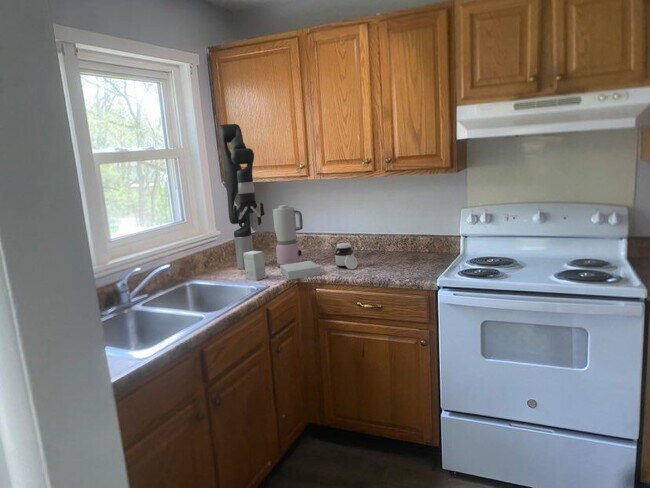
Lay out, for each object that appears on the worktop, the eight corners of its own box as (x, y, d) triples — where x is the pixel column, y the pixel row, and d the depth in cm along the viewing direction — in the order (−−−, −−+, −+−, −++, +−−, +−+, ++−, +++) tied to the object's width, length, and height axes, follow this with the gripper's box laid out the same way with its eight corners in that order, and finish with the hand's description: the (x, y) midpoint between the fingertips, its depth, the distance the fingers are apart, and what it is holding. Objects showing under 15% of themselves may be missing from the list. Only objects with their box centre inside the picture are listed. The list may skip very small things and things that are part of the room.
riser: (280, 273, 244) (279, 265, 243) (311, 268, 248) (310, 260, 248) (288, 280, 229) (287, 271, 228) (321, 274, 233) (320, 266, 233)
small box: (266, 277, 236) (263, 251, 234) (256, 281, 232) (253, 254, 230) (255, 276, 242) (253, 250, 240) (245, 279, 237) (242, 252, 235)
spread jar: (342, 264, 252) (341, 242, 250) (362, 265, 246) (361, 242, 244) (332, 270, 241) (330, 246, 239) (352, 270, 236) (351, 247, 234)
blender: (274, 269, 254) (267, 207, 248) (281, 263, 265) (275, 204, 259) (303, 268, 250) (297, 206, 244) (309, 262, 261) (304, 203, 256)
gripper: (259, 190, 235) (263, 223, 238) (230, 193, 231) (234, 226, 234) (263, 190, 228) (266, 225, 231) (232, 193, 224) (236, 228, 227)
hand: (250, 226), depth 232 cm, fingers open, 8 cm apart
